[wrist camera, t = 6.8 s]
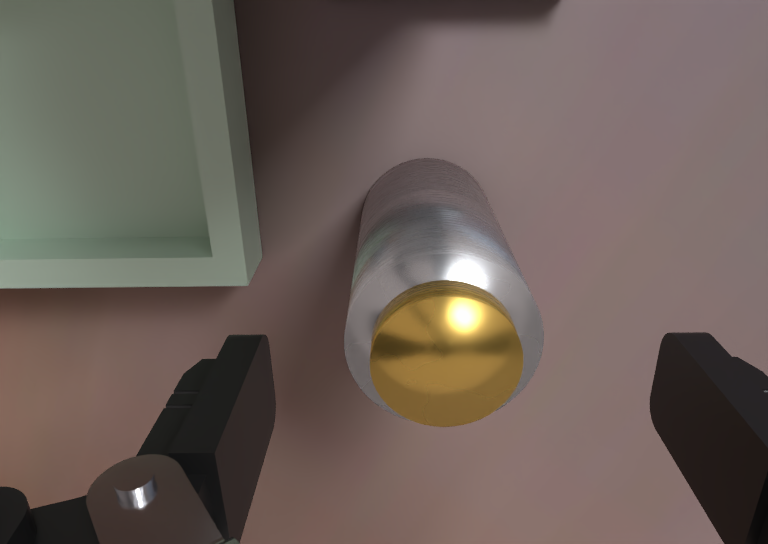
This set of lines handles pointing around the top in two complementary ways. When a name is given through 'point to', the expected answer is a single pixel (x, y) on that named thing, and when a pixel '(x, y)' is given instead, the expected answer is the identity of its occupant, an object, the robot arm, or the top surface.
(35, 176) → the parts tray
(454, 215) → the cylinder
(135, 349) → the top surface
